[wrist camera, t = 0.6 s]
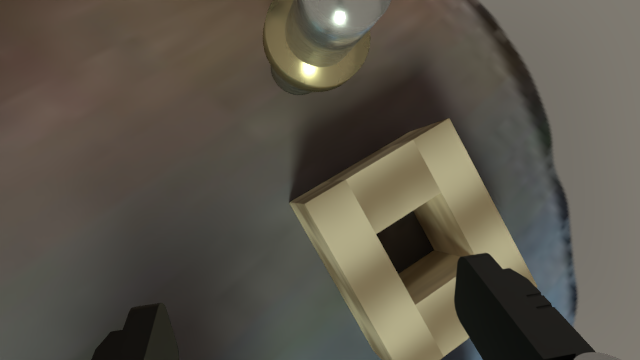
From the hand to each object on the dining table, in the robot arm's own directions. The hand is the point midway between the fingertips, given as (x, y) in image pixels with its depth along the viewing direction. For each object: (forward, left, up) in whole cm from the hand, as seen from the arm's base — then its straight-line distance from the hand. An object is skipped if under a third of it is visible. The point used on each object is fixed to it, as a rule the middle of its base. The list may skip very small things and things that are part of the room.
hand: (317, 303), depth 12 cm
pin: (-10, +9, -22) cm, 26 cm away
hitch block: (+6, +9, -22) cm, 24 cm away
